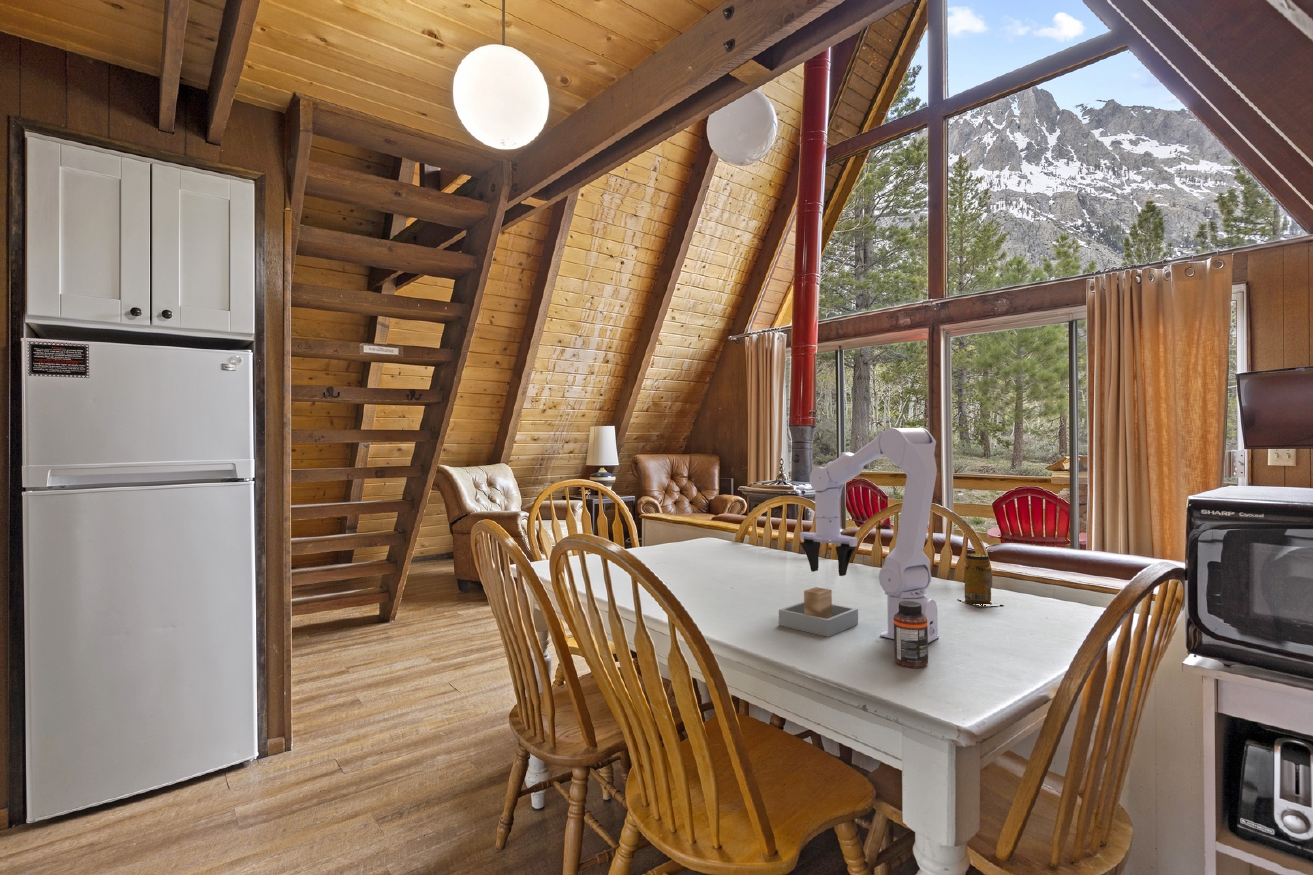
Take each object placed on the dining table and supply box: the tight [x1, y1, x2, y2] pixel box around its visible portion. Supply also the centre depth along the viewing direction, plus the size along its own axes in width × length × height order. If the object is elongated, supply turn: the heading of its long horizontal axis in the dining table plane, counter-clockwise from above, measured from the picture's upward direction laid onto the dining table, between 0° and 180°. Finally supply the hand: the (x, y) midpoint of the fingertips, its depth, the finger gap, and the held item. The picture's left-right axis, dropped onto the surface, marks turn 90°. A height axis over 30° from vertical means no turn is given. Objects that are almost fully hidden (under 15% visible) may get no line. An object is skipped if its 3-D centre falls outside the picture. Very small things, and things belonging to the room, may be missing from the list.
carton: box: [803, 586, 833, 619], centre depth 148 cm, size 4×5×7 cm
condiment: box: [961, 552, 1000, 608], centre depth 166 cm, size 7×8×12 cm
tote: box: [778, 601, 859, 638], centre depth 149 cm, size 13×13×4 cm
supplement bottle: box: [893, 601, 929, 669], centre depth 123 cm, size 6×6×11 cm
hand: (828, 573), depth 159 cm, fingers open, 7 cm apart
